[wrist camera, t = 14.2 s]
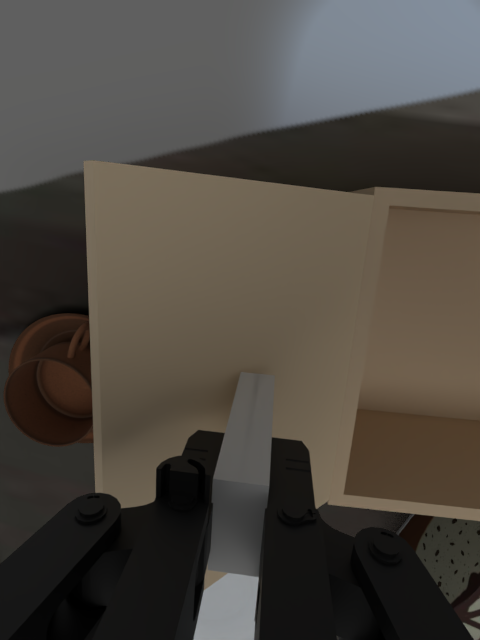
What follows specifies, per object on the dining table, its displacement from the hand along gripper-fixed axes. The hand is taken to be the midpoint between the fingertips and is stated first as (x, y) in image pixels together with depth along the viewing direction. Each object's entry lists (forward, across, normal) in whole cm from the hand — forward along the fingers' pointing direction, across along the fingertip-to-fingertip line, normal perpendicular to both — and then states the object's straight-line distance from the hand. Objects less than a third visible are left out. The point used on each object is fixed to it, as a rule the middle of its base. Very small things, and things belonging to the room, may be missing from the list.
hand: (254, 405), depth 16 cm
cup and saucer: (+18, +16, +8) cm, 25 cm away
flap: (+1, 0, 0) cm, 1 cm away
